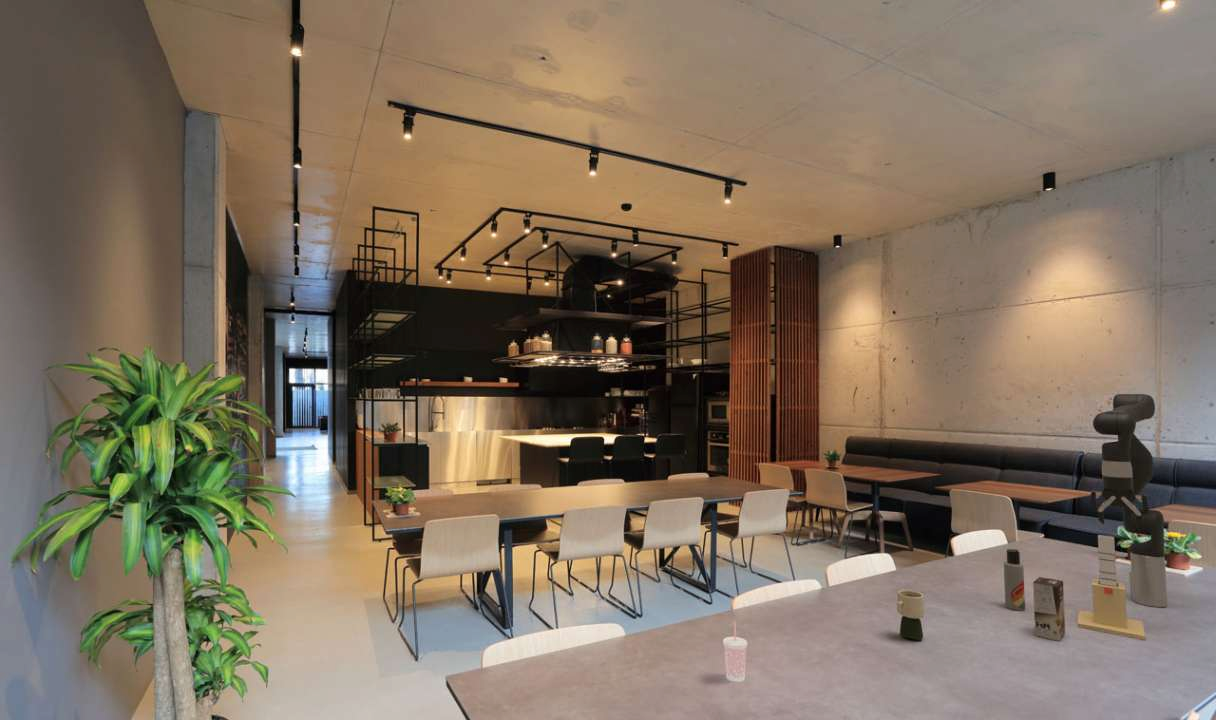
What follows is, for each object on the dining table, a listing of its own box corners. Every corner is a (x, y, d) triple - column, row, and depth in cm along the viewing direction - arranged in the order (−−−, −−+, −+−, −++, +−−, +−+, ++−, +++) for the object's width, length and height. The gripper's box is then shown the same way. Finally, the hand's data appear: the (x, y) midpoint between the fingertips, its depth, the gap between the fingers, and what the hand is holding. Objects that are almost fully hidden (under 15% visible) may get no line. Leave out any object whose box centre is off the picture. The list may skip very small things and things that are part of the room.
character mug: (913, 630, 184) (912, 588, 185) (934, 639, 178) (933, 595, 179) (888, 636, 180) (887, 592, 181) (908, 644, 173) (907, 599, 174)
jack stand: (1079, 613, 201) (1077, 573, 202) (1142, 625, 191) (1140, 583, 192) (1077, 627, 189) (1075, 584, 190) (1145, 640, 179) (1143, 595, 180)
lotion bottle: (1028, 611, 202) (1026, 552, 204) (1009, 610, 204) (1007, 551, 205) (1020, 606, 208) (1018, 548, 209) (1002, 604, 209) (1000, 547, 211)
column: (1100, 597, 193) (1097, 534, 195) (1117, 599, 191) (1114, 536, 192) (1100, 600, 190) (1097, 536, 192) (1117, 603, 188) (1114, 538, 189)
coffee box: (1060, 641, 177) (1058, 586, 178) (1034, 635, 181) (1032, 582, 183) (1065, 633, 183) (1063, 580, 184) (1040, 628, 188) (1038, 576, 189)
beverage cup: (720, 672, 154) (720, 617, 155) (743, 671, 155) (742, 616, 156) (727, 683, 148) (726, 626, 149) (751, 682, 149) (750, 625, 150)
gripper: (1146, 475, 192) (1149, 526, 191) (1089, 471, 201) (1091, 520, 200) (1147, 478, 186) (1150, 530, 185) (1088, 474, 195) (1091, 524, 194)
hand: (1119, 525), depth 192 cm, fingers open, 8 cm apart
